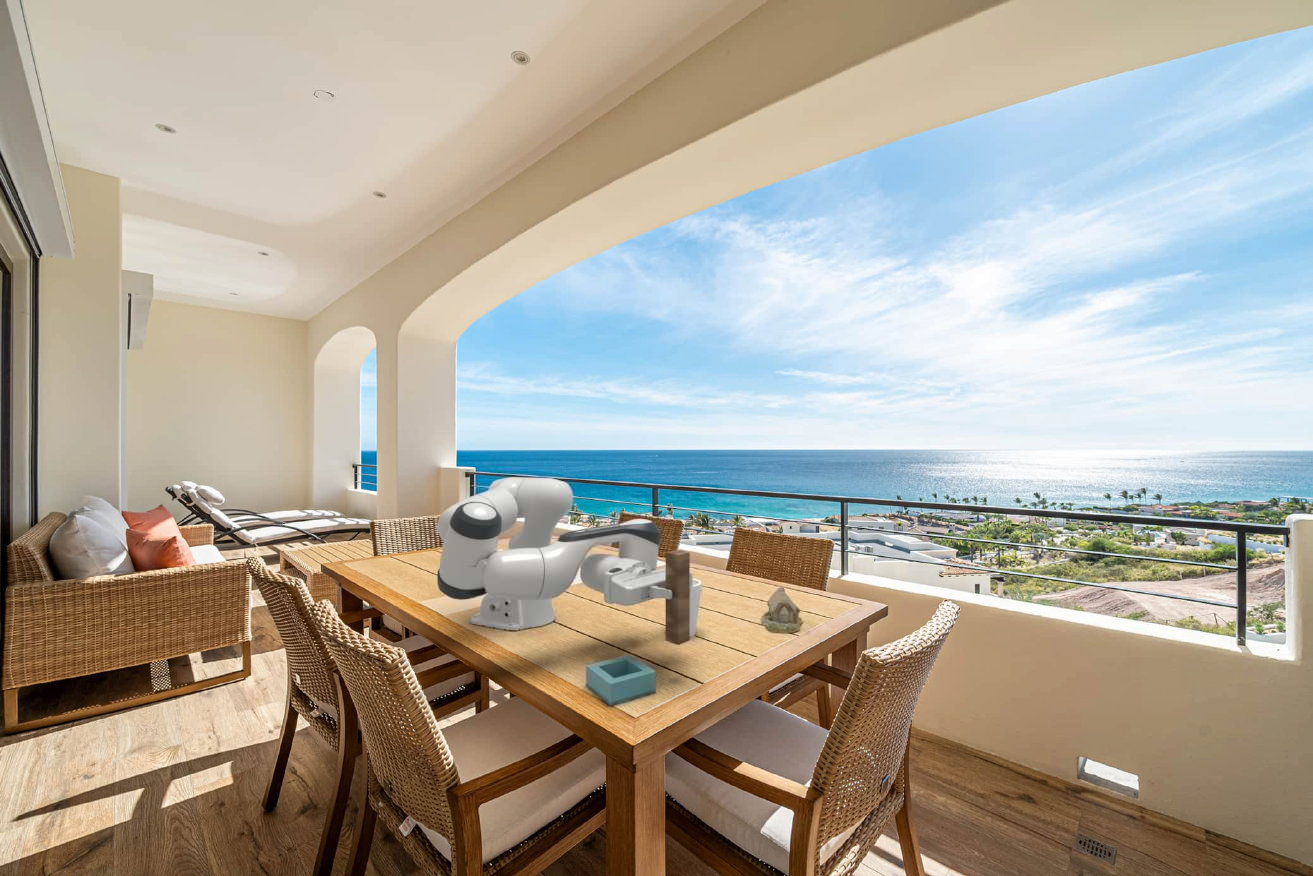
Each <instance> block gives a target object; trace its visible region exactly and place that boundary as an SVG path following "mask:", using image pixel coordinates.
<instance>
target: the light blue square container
mask: <svg viewBox="0 0 1313 876" xmlns="http://www.w3.org/2000/svg"><path fill="white" fill-rule="evenodd" d="M656 680H657V672H656V670H654V669H652V667H649V666H647V665H646V664H645V663H643V662H641V661H640V660H638V659H636V658H635V657H633V656H632V655H631V654H628V655H624V656H619V657H616V658H611V659H606V660H603V661H600V662H595V663H591V664H588V665H586V666H585V687H587V688H588V689H589V690H590V691H591V692H592V693H594V694H595V695H596V696H597V697H599V698H600V699H601V700H602V701H603V702H604V703H606V704H607V706H609V707H613V706H615V705H619V704H623V703H626V702H629V701H633V700H636V699H639V698H643V697H646V696H649V695H652V694H656V693H657V686H656V685H657V683H656V682H657V681H656Z"/></svg>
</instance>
